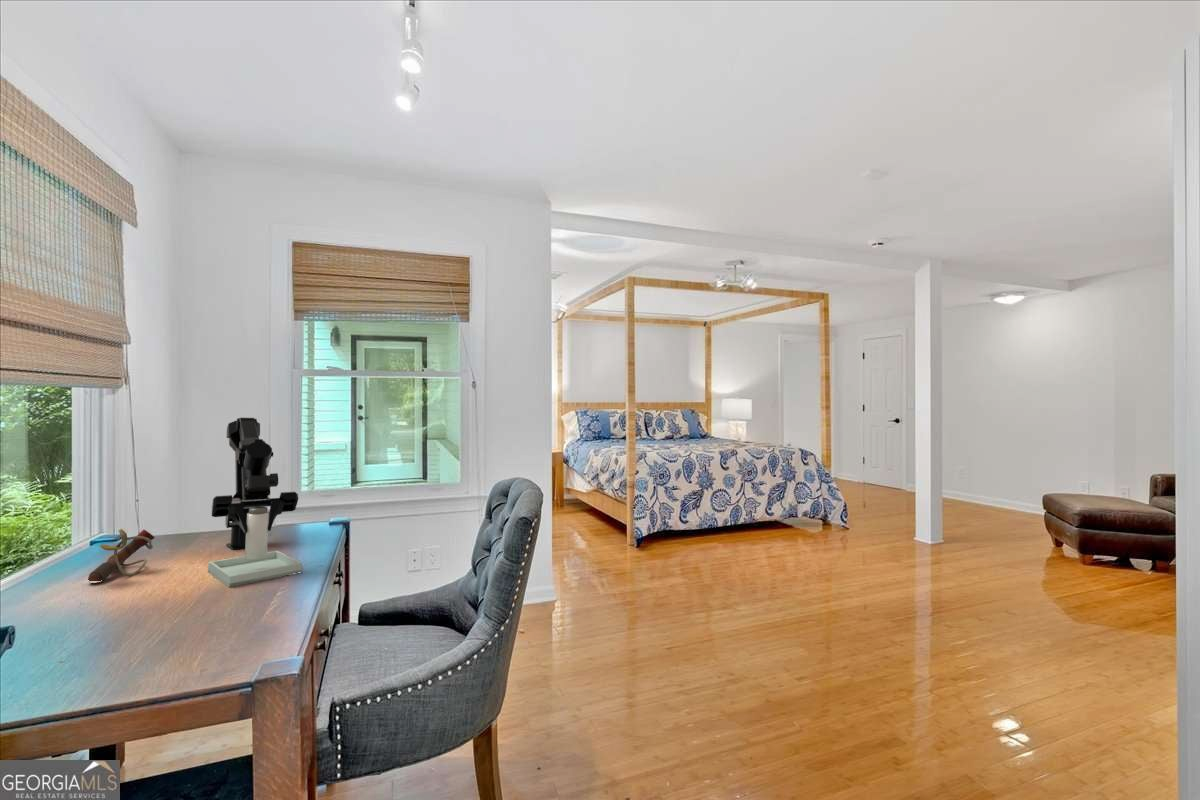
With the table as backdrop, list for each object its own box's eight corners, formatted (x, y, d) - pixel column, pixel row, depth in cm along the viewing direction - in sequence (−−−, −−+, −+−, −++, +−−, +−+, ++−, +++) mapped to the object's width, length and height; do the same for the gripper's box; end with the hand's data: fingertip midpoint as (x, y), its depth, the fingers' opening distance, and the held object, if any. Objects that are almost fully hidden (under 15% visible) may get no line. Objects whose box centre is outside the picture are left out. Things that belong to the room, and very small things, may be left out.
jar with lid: (240, 557, 136) (242, 509, 136) (255, 552, 141) (257, 505, 141) (256, 559, 135) (259, 510, 135) (271, 554, 140) (273, 507, 140)
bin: (207, 571, 137) (208, 561, 137) (277, 559, 149) (277, 550, 149) (229, 587, 126) (229, 576, 126) (301, 572, 139) (302, 563, 139)
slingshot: (51, 584, 123) (98, 548, 137) (92, 611, 127) (134, 573, 141) (104, 541, 122) (146, 508, 136) (144, 569, 125) (181, 535, 140)
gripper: (214, 464, 135) (215, 516, 127) (298, 462, 147) (304, 509, 138) (211, 490, 141) (211, 542, 133) (292, 486, 153) (297, 533, 144)
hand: (257, 531), depth 137 cm, fingers closed on jar with lid, 5 cm apart
